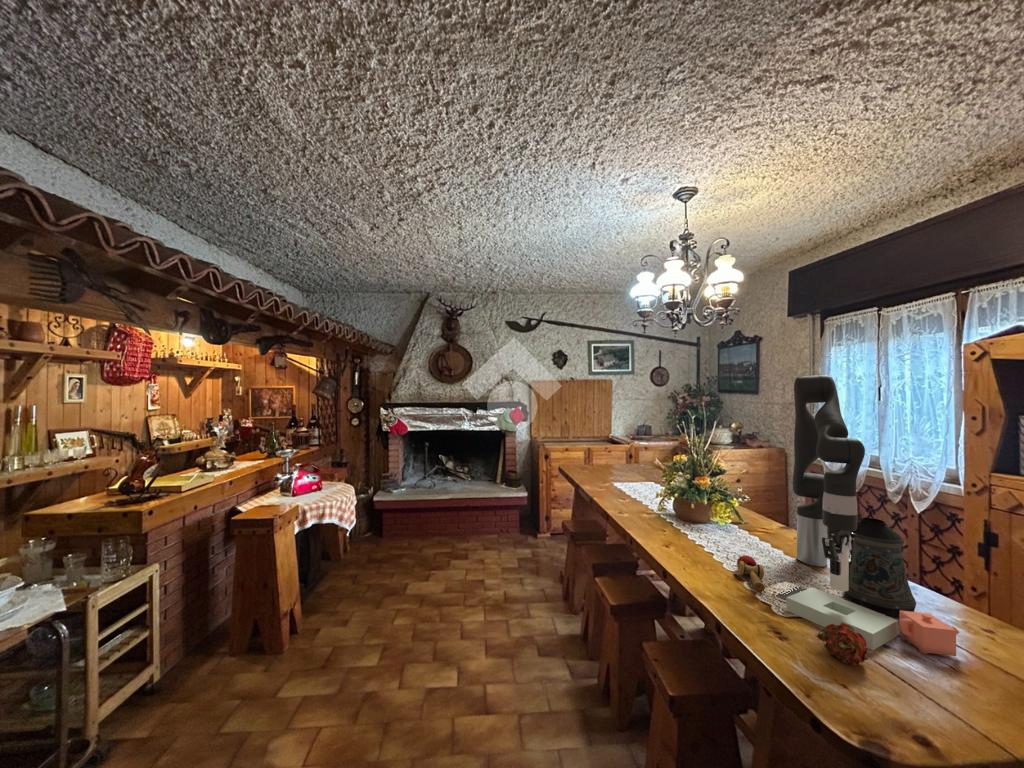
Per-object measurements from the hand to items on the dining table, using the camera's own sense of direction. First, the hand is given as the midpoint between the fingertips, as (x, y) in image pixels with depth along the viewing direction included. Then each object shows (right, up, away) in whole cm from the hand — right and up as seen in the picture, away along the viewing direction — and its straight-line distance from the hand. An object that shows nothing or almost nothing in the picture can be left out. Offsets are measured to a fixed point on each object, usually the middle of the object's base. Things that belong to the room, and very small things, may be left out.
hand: (839, 572), depth 113 cm
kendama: (-10, -14, +24) cm, 30 cm away
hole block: (0, -14, 0) cm, 14 cm away
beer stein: (+19, -15, +11) cm, 26 cm away
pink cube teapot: (+13, -14, -11) cm, 22 cm away
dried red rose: (-11, -13, -15) cm, 23 cm away
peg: (0, -4, 0) cm, 4 cm away
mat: (-3, -14, +17) cm, 22 cm away
